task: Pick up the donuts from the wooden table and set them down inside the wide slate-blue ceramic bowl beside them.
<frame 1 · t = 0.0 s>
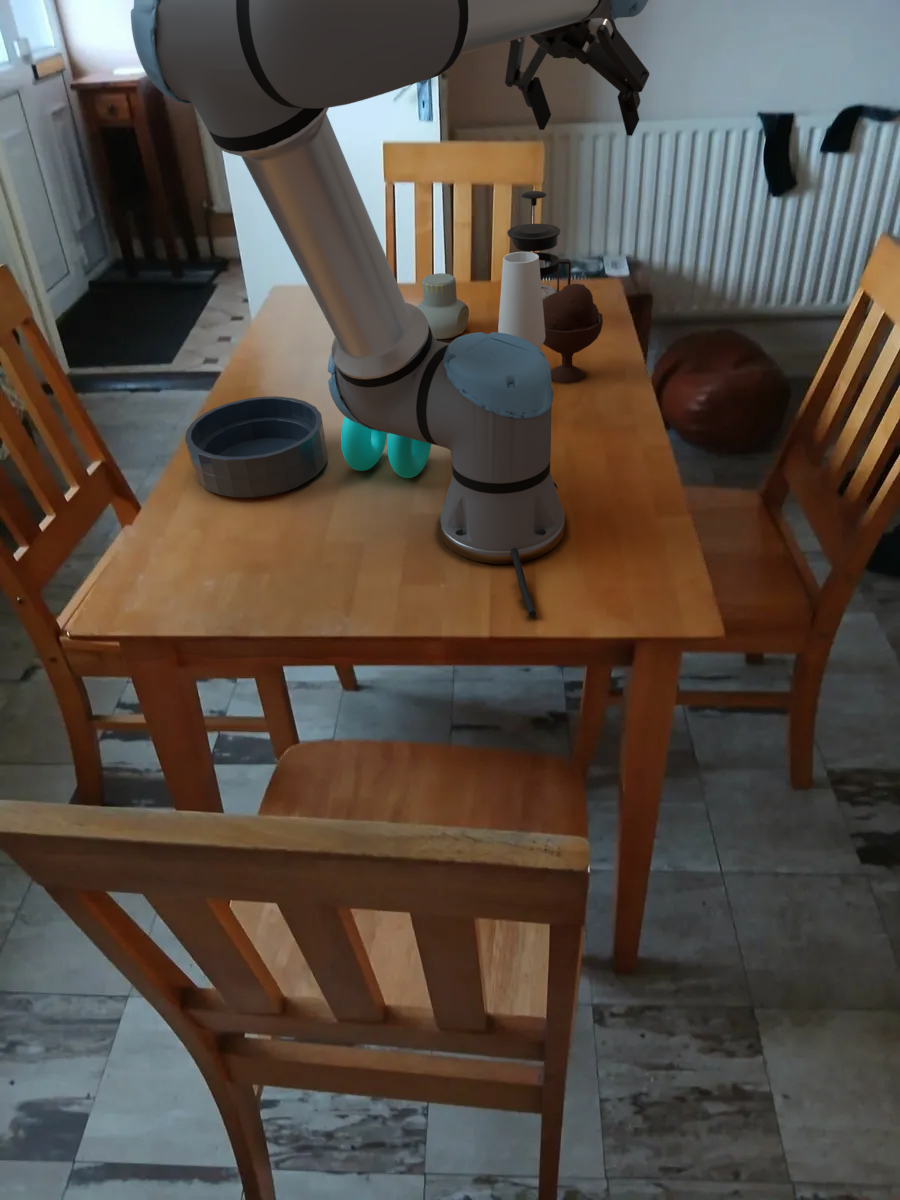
hand: (588, 125, 126), 36 cm above the table, tool tilted 35°, fingers open, 13 cm apart
ice cream bowl: (566, 376, 145), on the table
french press: (536, 328, 162), on the table
bowl: (262, 467, 127), on the table
donuts: (390, 471, 124), on the table
white tapered vase: (522, 422, 134), on the table
air freshener: (442, 335, 162), on the table
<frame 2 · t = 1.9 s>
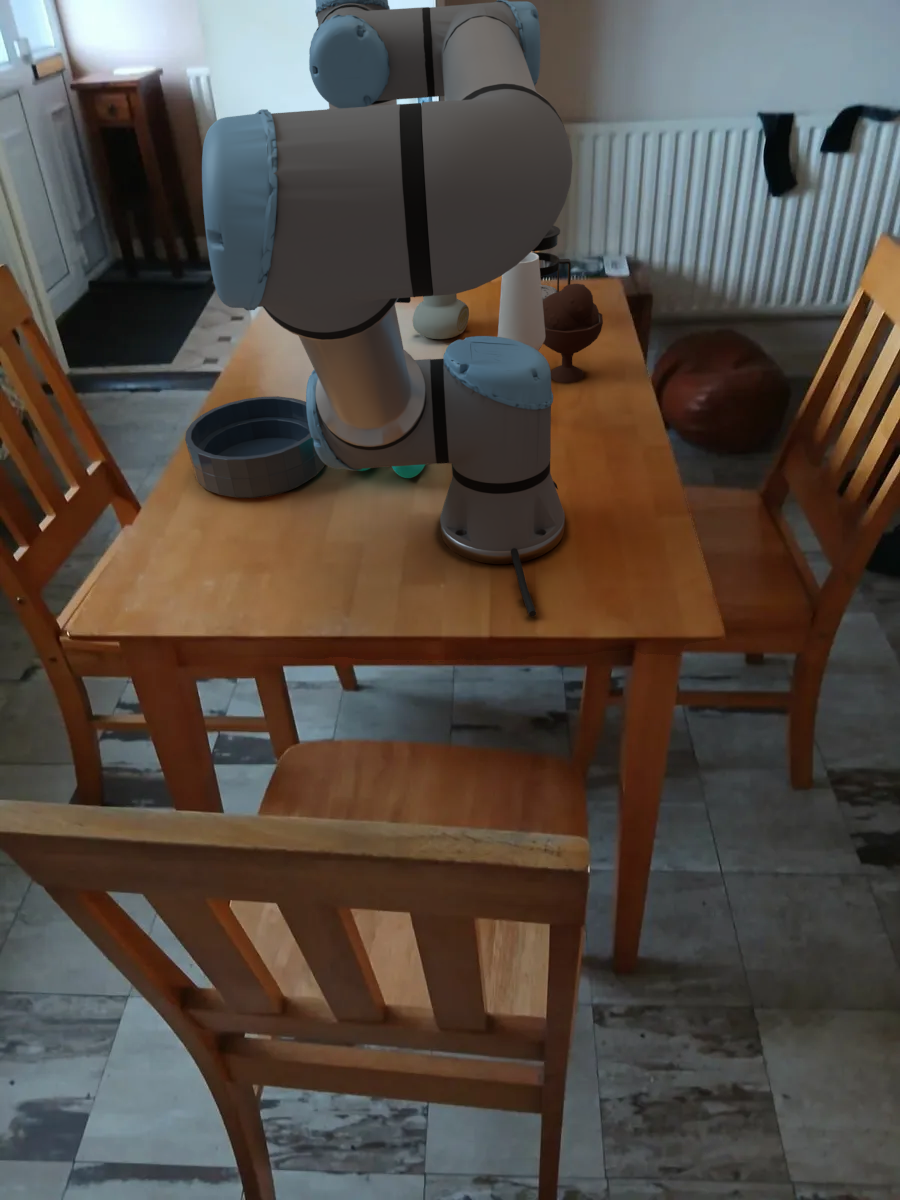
hand: (385, 322, 115), 20 cm above the table, tool pointing down, fingers open, 13 cm apart
nothing on the table moved.
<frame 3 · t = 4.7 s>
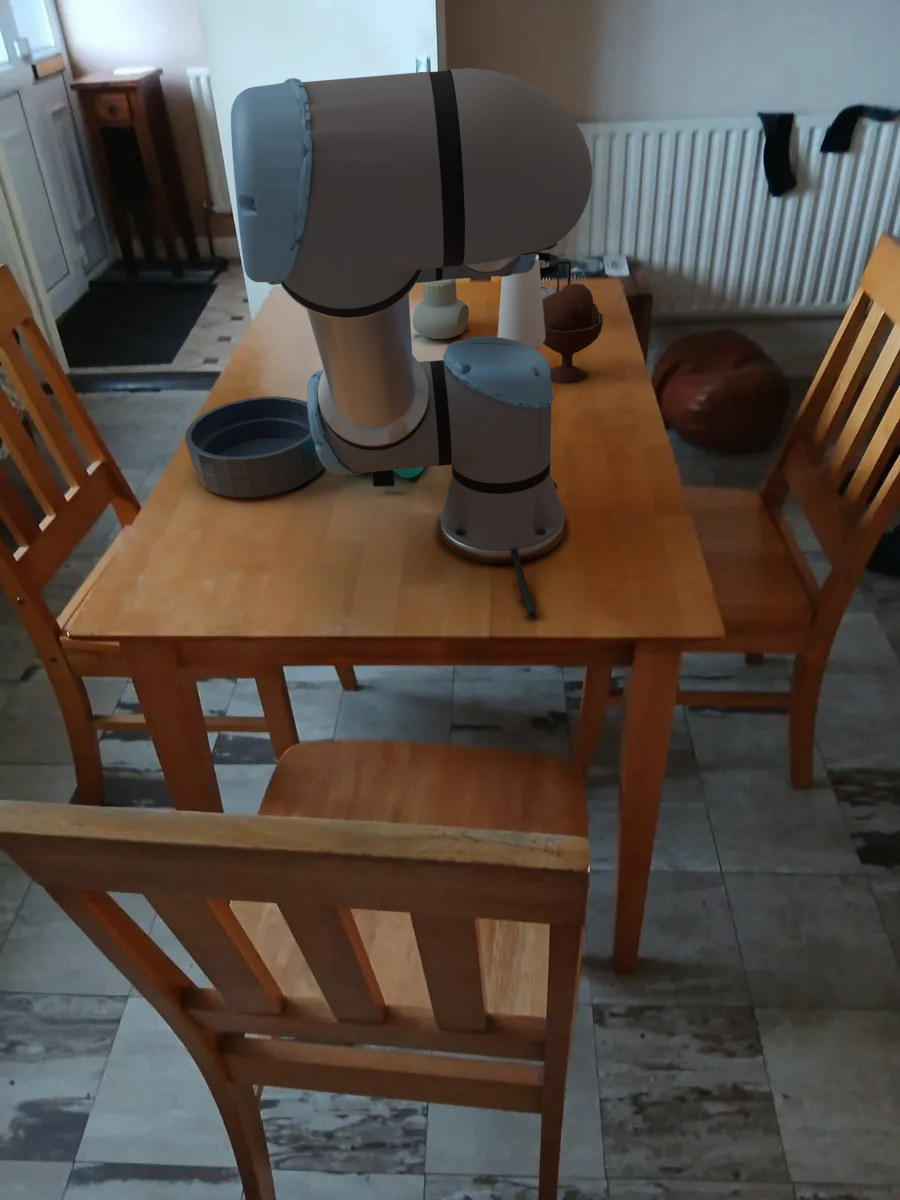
hand: (389, 462, 124), 1 cm above the table, tool pointing down, fingers closed on donuts, 11 cm apart
donuts: (390, 471, 124), on the table, touching gripper
everything else where it was.
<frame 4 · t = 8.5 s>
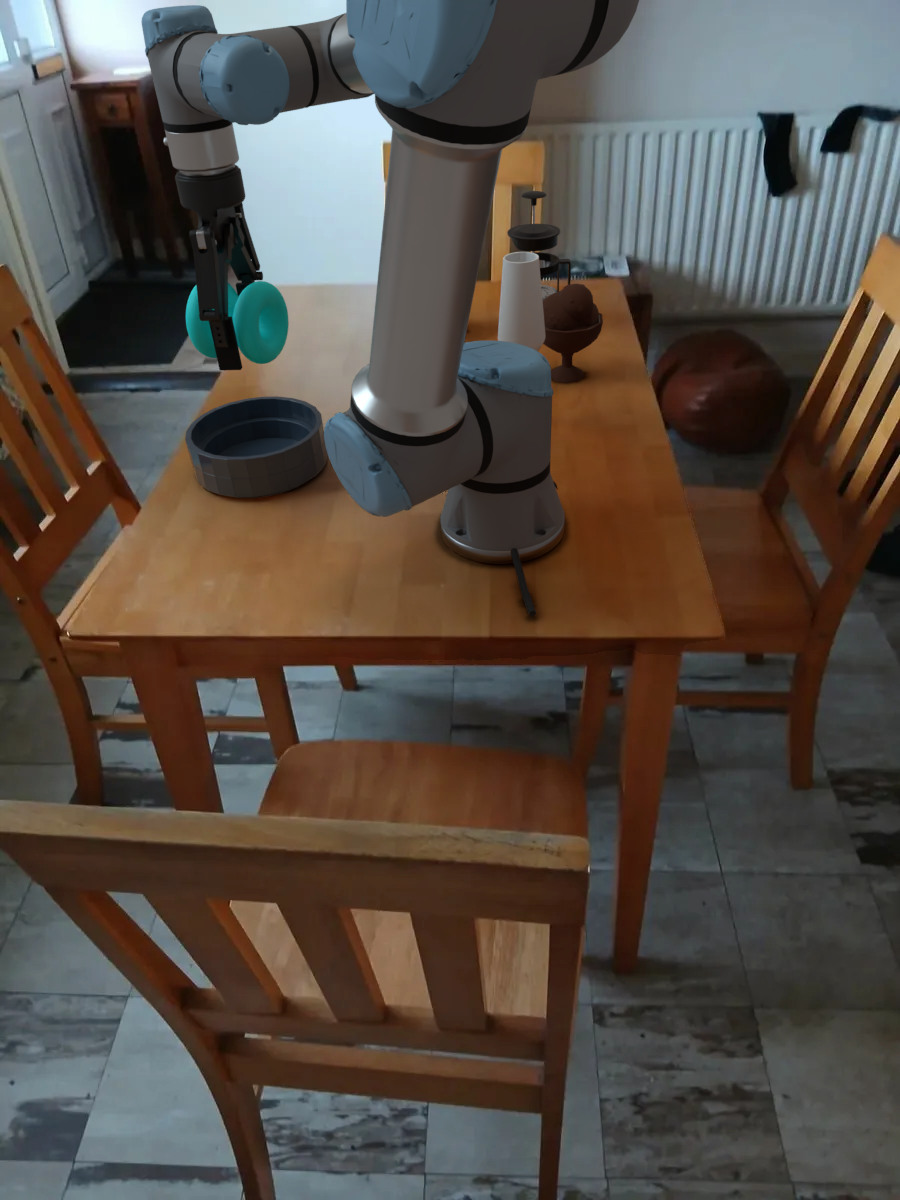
hand: (243, 349, 116), 17 cm above the table, tool pointing down, fingers closed on donuts, 11 cm apart
donuts: (246, 359, 117), point 16 cm above the table, touching gripper
everything else where it was.
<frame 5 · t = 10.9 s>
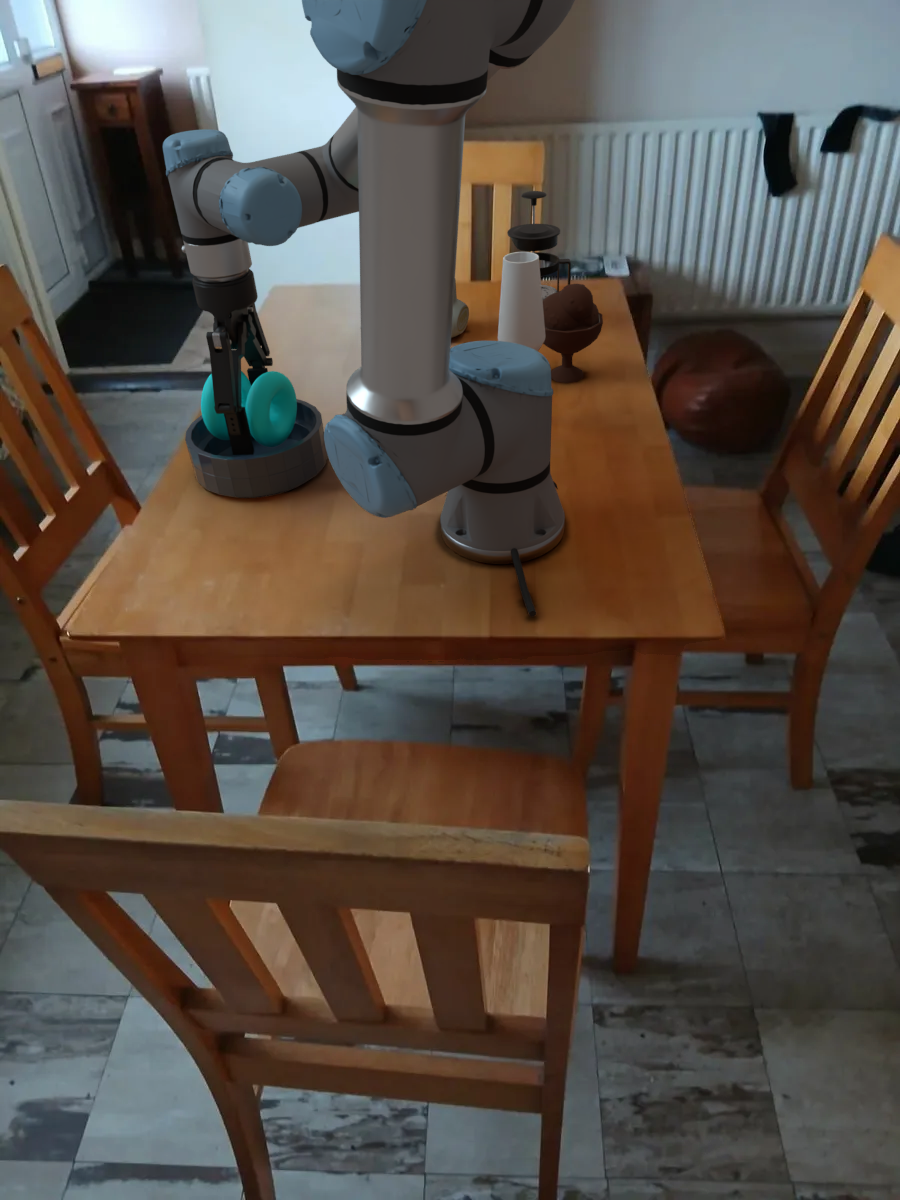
hand: (255, 432, 123), 6 cm above the table, tool pointing down, fingers closed on donuts, 11 cm apart
donuts: (256, 440, 124), point 4 cm above the table, touching gripper
everything else where it was.
when the fingers open (2 cm above the table, at t = 12.7 s): donuts stays where it is, resting on bowl.
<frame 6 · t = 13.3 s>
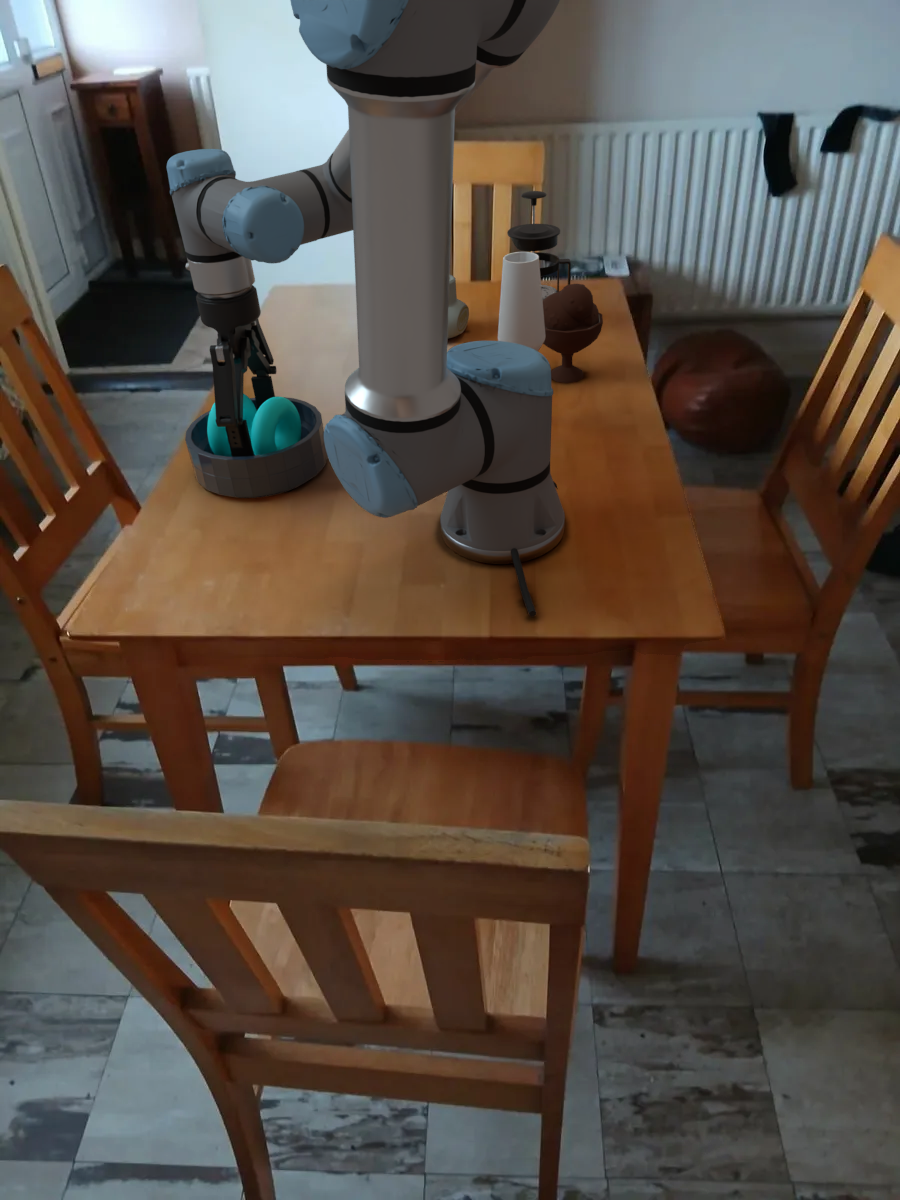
hand: (258, 442, 124), 4 cm above the table, tool pointing down, fingers open, 13 cm apart
donuts: (262, 463, 126), point 1 cm above the table, touching bowl
everything else where it was.
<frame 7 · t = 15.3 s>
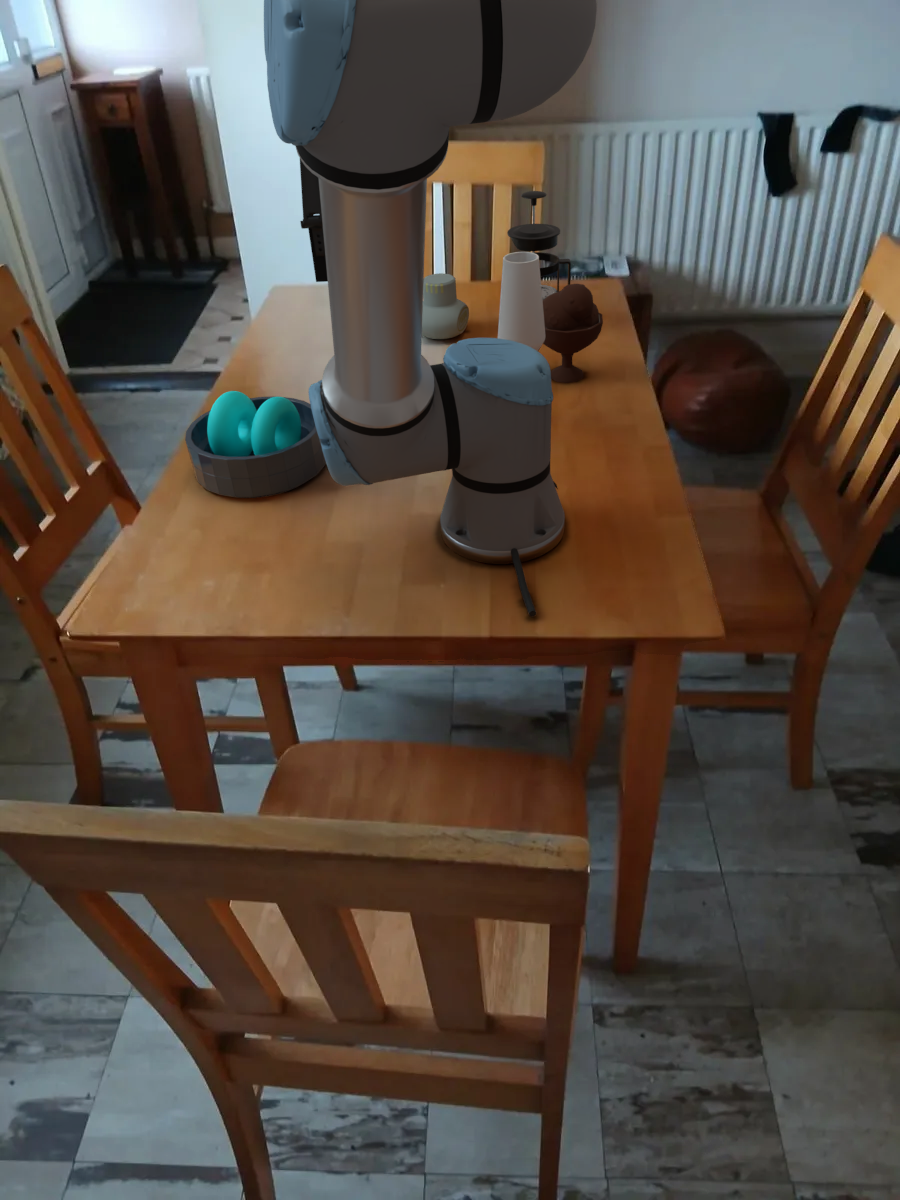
hand: (335, 263, 117), 25 cm above the table, tool pointing down, fingers open, 13 cm apart
nothing on the table moved.
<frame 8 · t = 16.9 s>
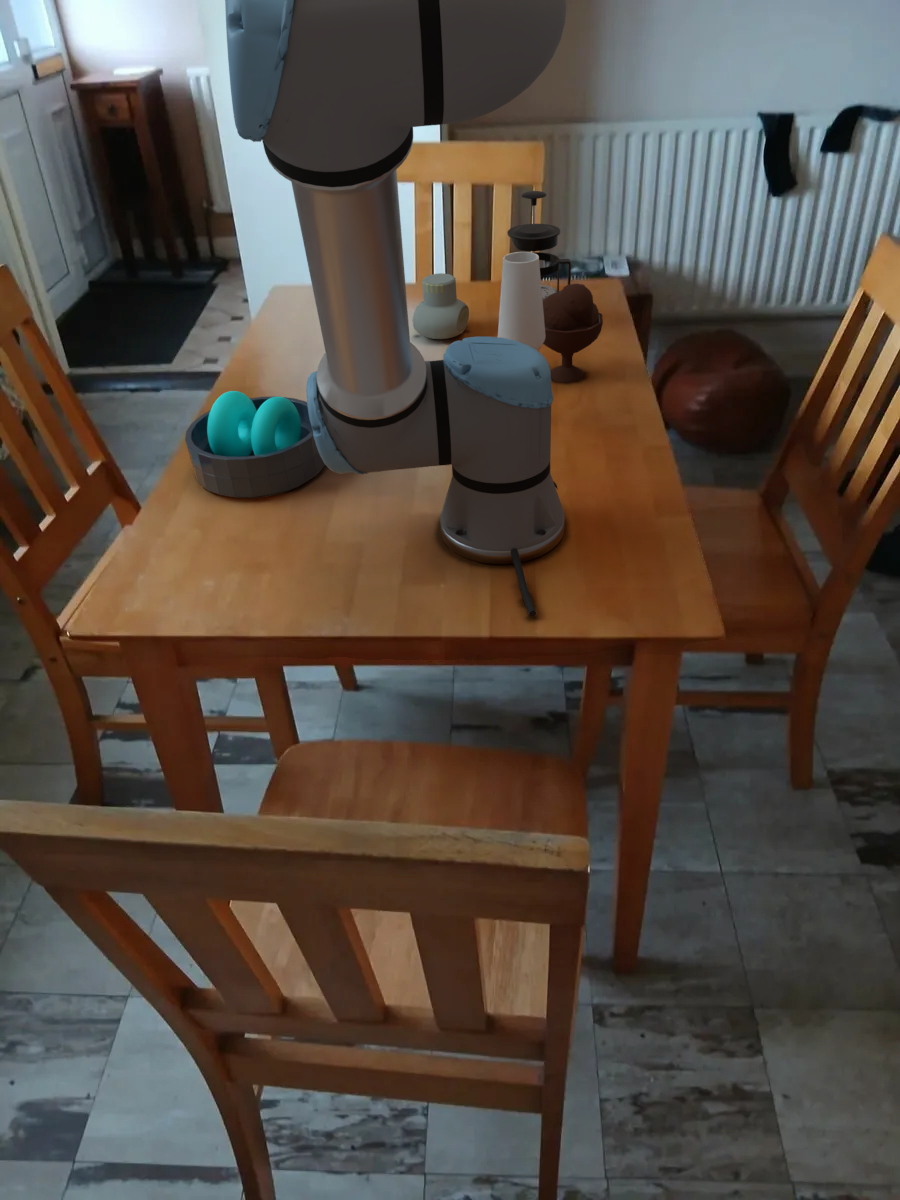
hand: (369, 243, 118), 27 cm above the table, tool pointing down, fingers open, 13 cm apart
nothing on the table moved.
at the end: donuts inside the target area in the bowl (0.0 cm from its centre), point 0.6 cm above the bowl's base; donuts tilted 0°; the gripper is holding nothing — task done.
